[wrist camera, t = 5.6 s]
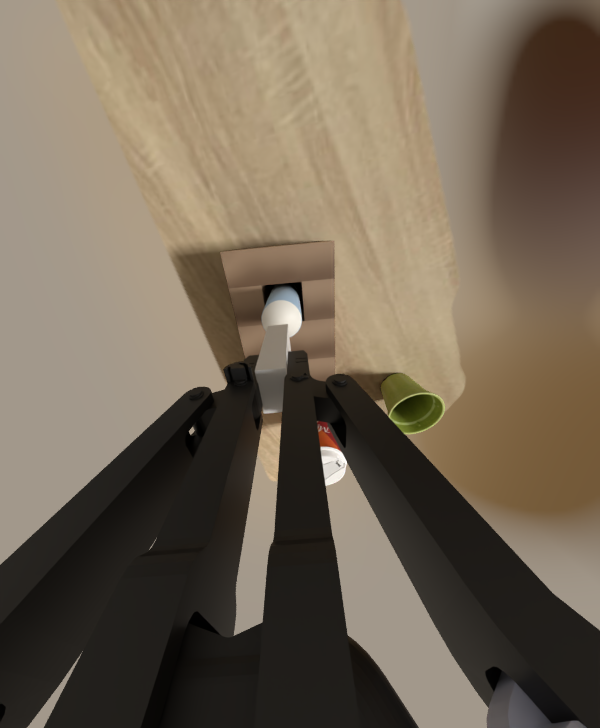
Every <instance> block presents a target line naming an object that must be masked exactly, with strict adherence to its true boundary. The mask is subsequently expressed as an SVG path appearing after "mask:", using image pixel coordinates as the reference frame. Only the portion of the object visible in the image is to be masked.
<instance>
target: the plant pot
mask: <svg viewBox="0 0 600 728" xmlns="http://www.w3.org/2000/svg"><path fill="white" fill-rule="evenodd" d="M381 392H382V395H383V398H384V401H385V404H386V407H387V410H388V417H389V418H390V419H391V420H392V421H393V422H394V423H395V424H396V425H397V426H398V428H399V429H400V430H401V431H402V432H403V433H404V434H415V433H420V432H422V431H425V430H427V429H429V428H431V427H432V426H434V425H435V424H436V423H437V422H438V421H439V420H440V419H441V417H442V416H443V414H444V410H445V405H444V402H443V400H442V399H441V398H440V397H439V396H438V395H436V394H434V393H431V392H429V391H426V390H425V389H423V388H422V387H421V386H420V385H418V384H417V383H416V382H415V381H413V380H412V379H411V378H410V377H409V376H407V375H405V374H402V373H397V374H393V375H390V376H388V378H387V379H386V380H385V381H383V382H382V384H381Z"/></svg>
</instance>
